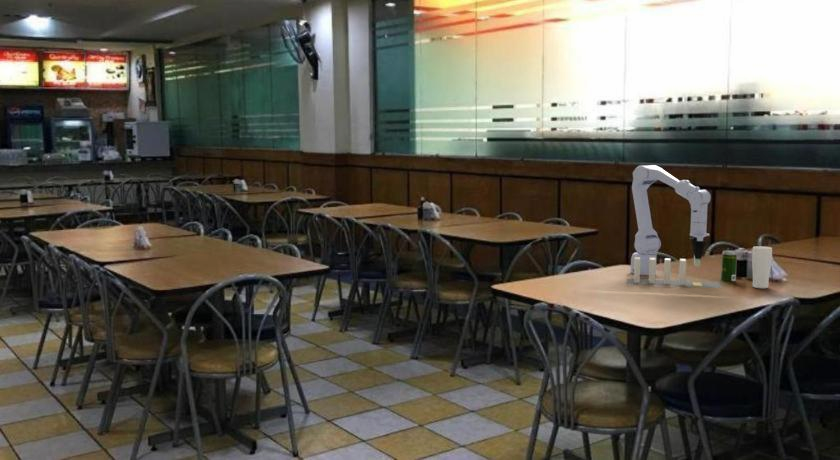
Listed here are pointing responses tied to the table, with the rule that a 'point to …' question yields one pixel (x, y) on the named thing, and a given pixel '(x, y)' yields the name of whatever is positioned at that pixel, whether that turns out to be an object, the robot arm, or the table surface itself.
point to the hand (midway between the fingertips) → (697, 257)
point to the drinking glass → (761, 266)
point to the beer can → (728, 266)
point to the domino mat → (677, 283)
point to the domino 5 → (697, 262)
